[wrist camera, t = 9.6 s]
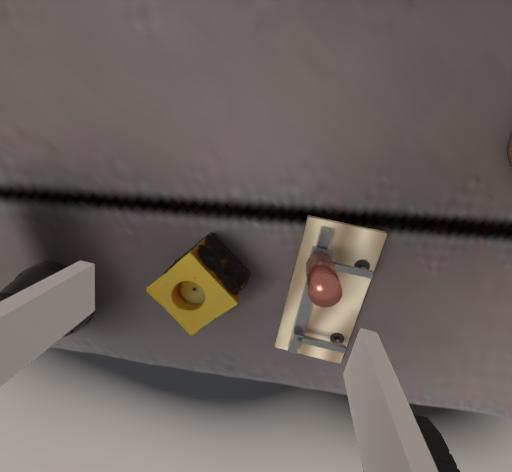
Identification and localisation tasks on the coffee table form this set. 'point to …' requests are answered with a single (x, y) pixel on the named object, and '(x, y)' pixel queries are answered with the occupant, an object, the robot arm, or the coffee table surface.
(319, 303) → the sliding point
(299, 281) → the board
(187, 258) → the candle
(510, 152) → the decorative stone
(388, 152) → the coffee table surface
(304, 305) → the rail
